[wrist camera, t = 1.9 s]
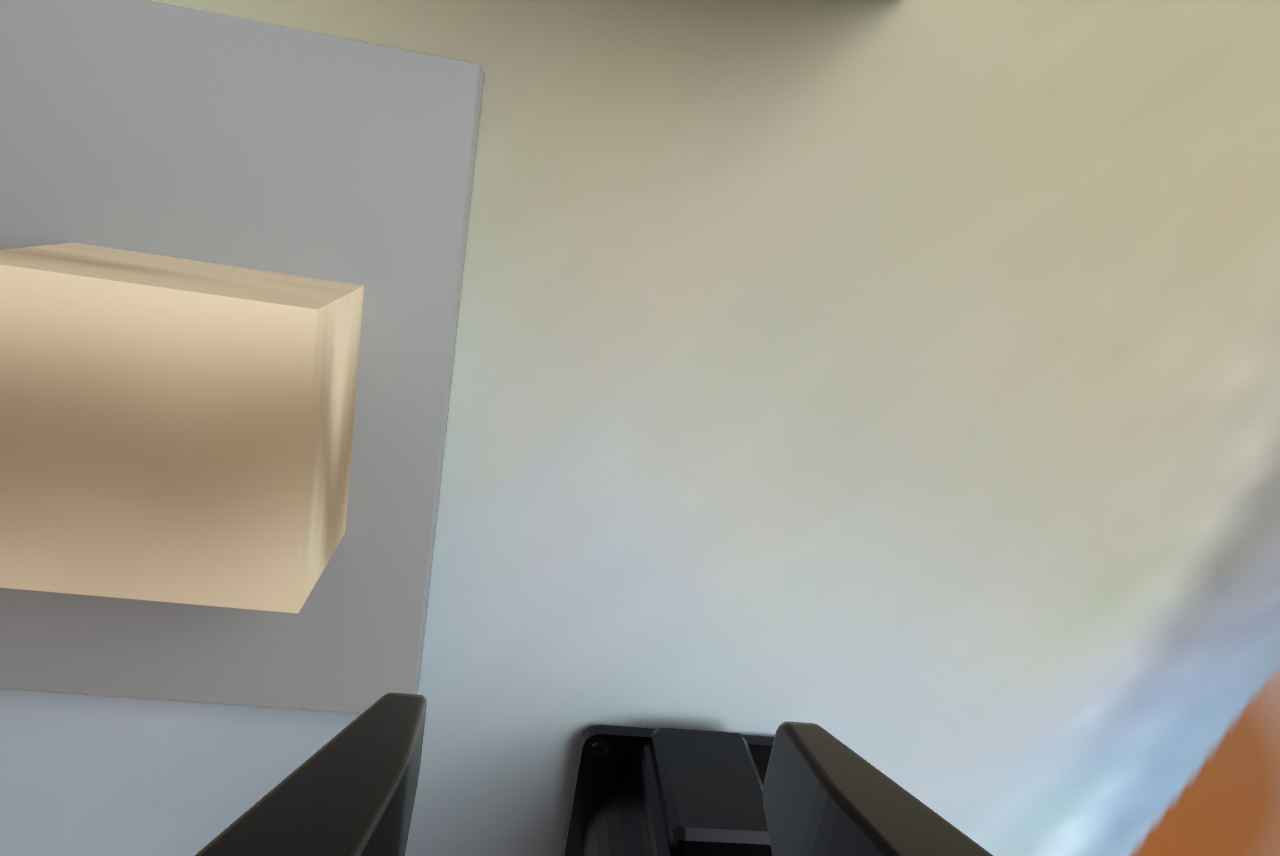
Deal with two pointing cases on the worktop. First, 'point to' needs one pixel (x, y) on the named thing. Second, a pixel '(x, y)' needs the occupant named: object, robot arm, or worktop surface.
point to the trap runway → (270, 241)
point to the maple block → (172, 426)
